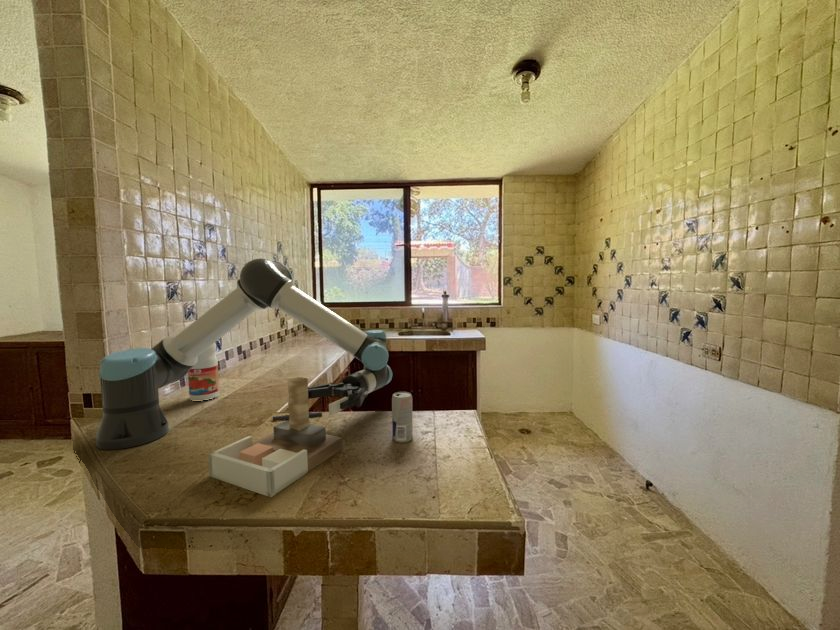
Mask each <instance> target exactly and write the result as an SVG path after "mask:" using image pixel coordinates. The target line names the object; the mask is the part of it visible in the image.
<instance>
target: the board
mask: <svg viewBox="0 0 840 630" xmlns="http://www.w3.org/2000/svg"><path fill="white" fill-rule="evenodd" d="M342 439H343V437H341V436H336V435H333V434H327V433H326V439H325V440H323V441H322V442H320V443H318V444H317V445H315V446H313V447H312V448H311V447H307V446H303V445H299V444H295V443H290V442H286V441H282V440H278V439H274V432H272V433H270V434H267V435H266V436H265V435H264V436H263V437H262V438H259V439H256V440H255V441H252V446H253V445H255V444H257V443H260V444H264V445H268V446H271V447H273V450H274V452H275V451H277V450H279V449H284V450H288V451H292V452H296V453H298V452H300V451H302V450H303V449H305V450H307V459H308V473H309V472H310V471H312V470H314V469H315V468H316V467H318V466H319V465H321V464H323V463H324V462H325V461H327V460H328V459H330V458H331V457H333V456H334V455H335V454H337V453H338V452H341V450H343V440H342Z"/></svg>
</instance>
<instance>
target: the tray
mask: <svg viewBox="0 0 840 630" xmlns="http://www.w3.org/2000/svg"><path fill="white" fill-rule="evenodd" d="M252 443H253V436H251V435H248V436H245V437H243V438H241V439H239V440H237V441H234V442H232V443H230V444H227V445H226V446H223V447H221V448H219V449H217V450H214V451H213V452H210V453H208V469H209V470H208V471H209V477H210V478H213V479H214V480H215V479H216V480H218V481H221V482H224V483H227V484H231V485H234V486H236V487H238V488H242V489H244V490H248V491H251V492H254V493H257V494H261V495H263V496H266V497H269V498H272V497H273V496H276V495H277V494H278V493H280V492H281V491H282V490H284V489H285V488H287V487H289V486H290V485H291V484H293V483H294V482H296V481H297V480H299V479H300V478H302V477H303V476H304V475H306V474H308V473H309V472H308V459H307V450H305V449H303V450H302V451H300V452H298V453H296V454H295V455H293V456H291V457H290V458H288V459H286V460H284V461H283V462H281V463H279V464H278V465H276V466H274V467H272V468H271V469H269V468H266V467H263V466H259V465H256V464H252V463H249V462H245V461H242V460H239V452H240V451H242V450H244V449H247V448H249V447H251V446H252Z"/></svg>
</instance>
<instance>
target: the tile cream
mask: <svg viewBox="0 0 840 630" xmlns="http://www.w3.org/2000/svg"><path fill="white" fill-rule="evenodd" d="M295 454H296V452H292V451H288V450H284V449H279V450H277V451H275V452H273V453H271V454H269V455H267V456H266V457H264V458H262V466H263V467H266V468H269V469H271V468H272V467H274V466H276V465H278V464H279V463H281V462H283V461H284V460H286V459H288V458H290V457H291V456H293V455H295Z"/></svg>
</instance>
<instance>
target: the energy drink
mask: <svg viewBox="0 0 840 630" xmlns="http://www.w3.org/2000/svg"><path fill="white" fill-rule="evenodd" d="M391 419H392V421H391V425H392V426H391V427H392V429H391V430H392V431H391V432H392V433H391V434H392V440H393V441H394V442H396V443H403V444H404V443H408V442H410V441H411V440H412V439H413V437H414V436H413V433H414V432H413V395H412V393H411V392H409V391H397V392H394V393H393V394H392V397H391Z"/></svg>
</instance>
